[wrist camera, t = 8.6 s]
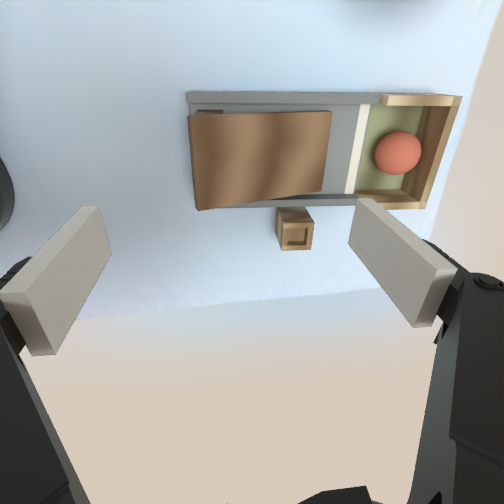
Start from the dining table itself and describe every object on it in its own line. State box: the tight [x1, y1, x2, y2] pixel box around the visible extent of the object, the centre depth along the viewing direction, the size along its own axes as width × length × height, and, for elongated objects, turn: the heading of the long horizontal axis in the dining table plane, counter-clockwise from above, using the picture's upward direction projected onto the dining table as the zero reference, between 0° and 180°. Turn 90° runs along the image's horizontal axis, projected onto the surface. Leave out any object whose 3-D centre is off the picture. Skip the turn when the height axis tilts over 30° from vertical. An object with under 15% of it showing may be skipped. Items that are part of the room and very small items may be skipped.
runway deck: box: [186, 91, 382, 208], centre depth 31 cm, size 18×11×3 cm, turn 89°
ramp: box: [187, 109, 333, 211], centre depth 29 cm, size 14×8×6 cm, turn 89°
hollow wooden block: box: [275, 207, 314, 251], centre depth 35 cm, size 3×3×5 cm
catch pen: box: [354, 93, 463, 210], centre depth 32 cm, size 7×11×4 cm, turn 179°
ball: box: [375, 131, 421, 175], centre depth 31 cm, size 4×4×4 cm
